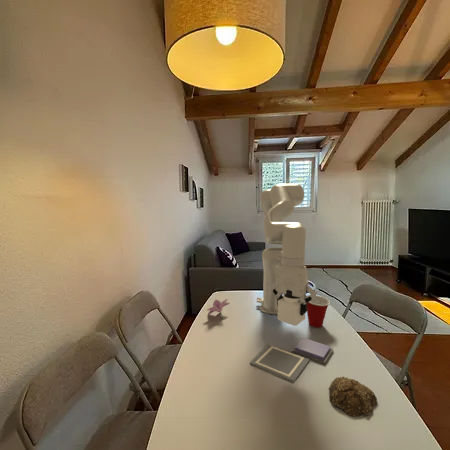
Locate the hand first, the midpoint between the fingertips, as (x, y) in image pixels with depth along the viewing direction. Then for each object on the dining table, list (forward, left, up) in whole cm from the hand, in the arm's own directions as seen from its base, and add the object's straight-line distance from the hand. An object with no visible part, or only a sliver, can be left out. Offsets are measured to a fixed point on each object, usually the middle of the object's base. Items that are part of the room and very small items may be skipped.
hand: (291, 310), depth 97 cm
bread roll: (+22, -8, -19) cm, 30 cm away
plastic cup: (-1, +31, -18) cm, 36 cm away
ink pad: (+5, +9, -18) cm, 21 cm away
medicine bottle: (0, 0, -3) cm, 3 cm away
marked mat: (-2, -4, -18) cm, 18 cm away
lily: (-41, +12, -18) cm, 47 cm away
